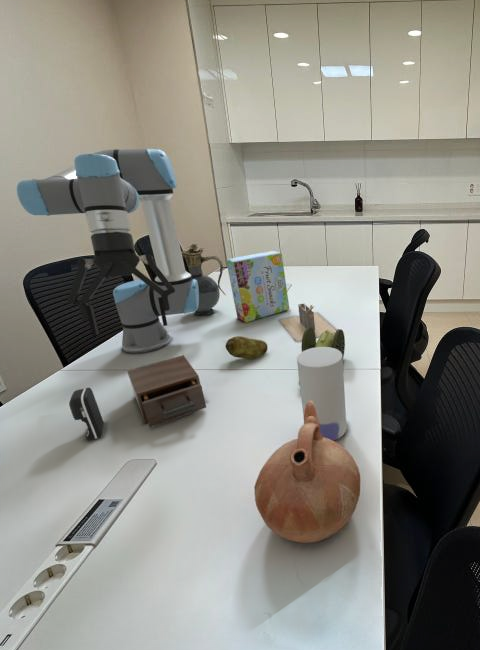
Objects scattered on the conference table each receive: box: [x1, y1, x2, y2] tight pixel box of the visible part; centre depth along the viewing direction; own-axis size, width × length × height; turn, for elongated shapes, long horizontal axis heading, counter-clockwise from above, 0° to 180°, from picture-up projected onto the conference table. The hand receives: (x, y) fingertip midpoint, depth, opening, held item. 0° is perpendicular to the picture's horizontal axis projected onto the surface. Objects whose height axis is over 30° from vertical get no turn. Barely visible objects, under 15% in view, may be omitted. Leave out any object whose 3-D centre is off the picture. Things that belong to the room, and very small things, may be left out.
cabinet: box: [126, 354, 201, 424], centre depth 106 cm, size 16×15×9 cm
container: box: [296, 347, 348, 442], centre depth 90 cm, size 10×10×20 cm
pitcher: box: [181, 243, 226, 316], centre depth 167 cm, size 11×19×30 cm, turn 118°
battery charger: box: [68, 387, 105, 441], centre depth 92 cm, size 7×4×11 cm, turn 26°
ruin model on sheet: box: [279, 303, 337, 342], centre depth 153 cm, size 25×16×10 cm, turn 27°
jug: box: [253, 401, 361, 544], centre depth 67 cm, size 18×18×20 cm
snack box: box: [225, 250, 290, 324], centre depth 164 cm, size 22×9×26 cm, turn 133°
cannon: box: [298, 328, 346, 387], centre depth 119 cm, size 25×12×11 cm, turn 168°
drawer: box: [142, 380, 207, 428], centre depth 100 cm, size 19×13×7 cm
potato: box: [225, 335, 268, 360], centre depth 129 cm, size 8×13×8 cm, turn 102°
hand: (131, 330), depth 87 cm, fingers open, 13 cm apart
